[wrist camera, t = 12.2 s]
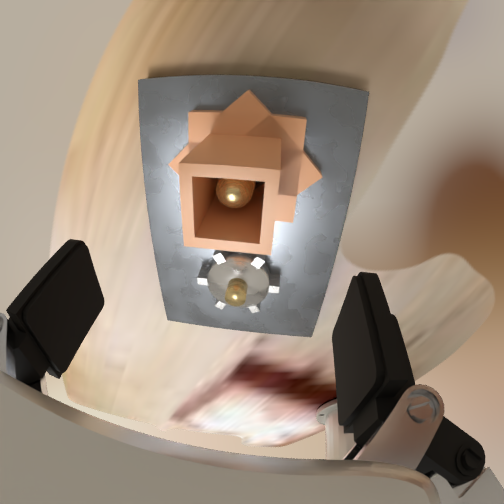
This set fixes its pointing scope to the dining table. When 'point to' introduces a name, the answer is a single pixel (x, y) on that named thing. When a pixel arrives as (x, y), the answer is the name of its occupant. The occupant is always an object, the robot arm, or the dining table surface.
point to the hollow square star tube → (241, 174)
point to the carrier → (240, 193)
